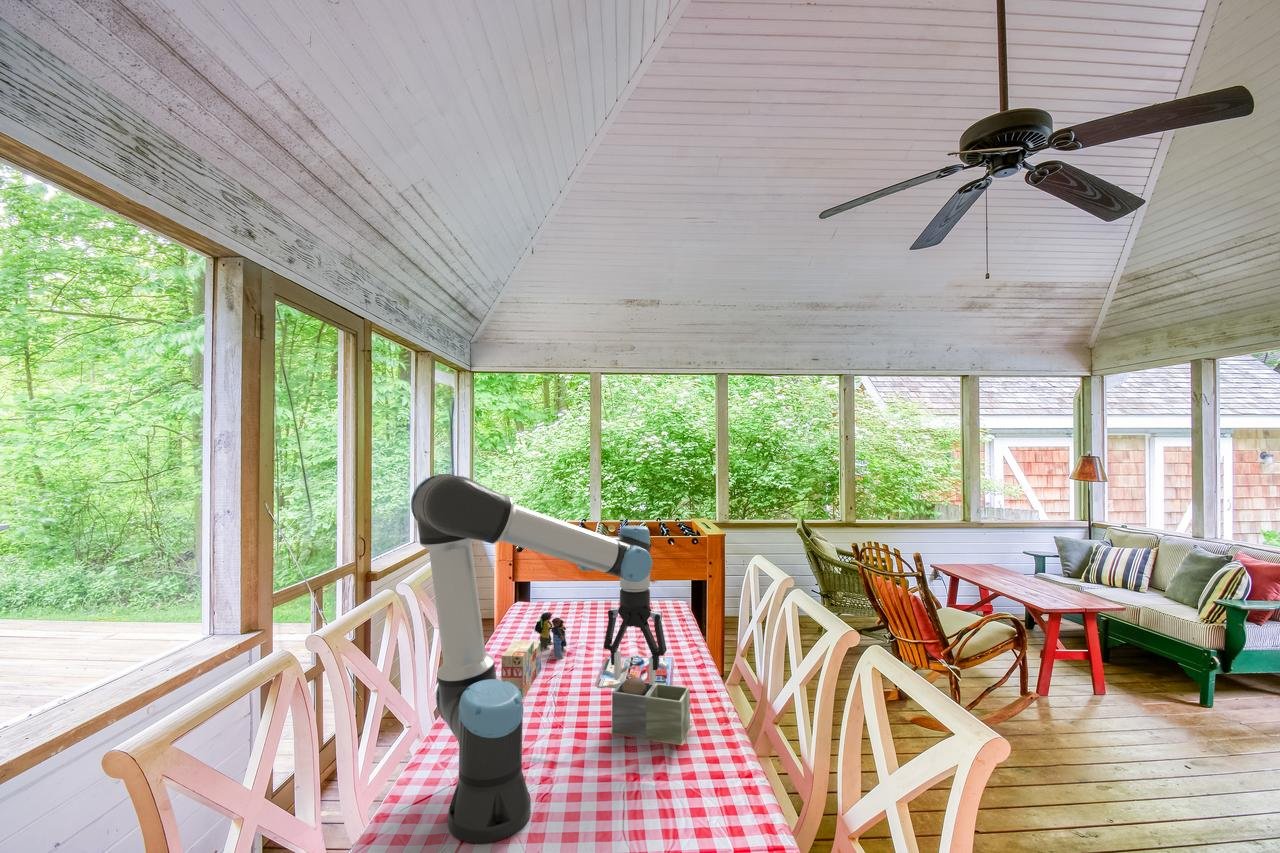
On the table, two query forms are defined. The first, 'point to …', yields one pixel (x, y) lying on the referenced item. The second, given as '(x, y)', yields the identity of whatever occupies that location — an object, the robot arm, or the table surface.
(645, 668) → the puzzle board
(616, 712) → the divided open bin
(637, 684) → the walnut ball
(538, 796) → the table surface
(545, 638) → the doll family
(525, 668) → the stack of blocks
